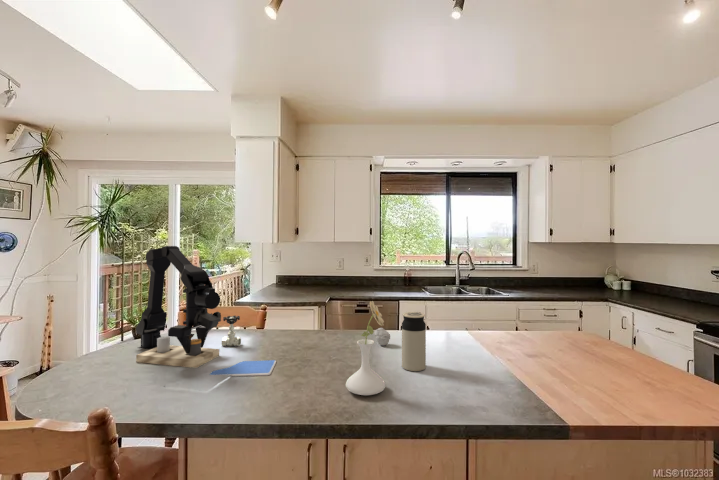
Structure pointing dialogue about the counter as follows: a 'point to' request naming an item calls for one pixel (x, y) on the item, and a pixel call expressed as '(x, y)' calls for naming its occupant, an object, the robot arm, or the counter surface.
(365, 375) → the flower in vase
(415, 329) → the travel mug
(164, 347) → the grey plug
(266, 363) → the tablet computer
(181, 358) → the wooden socket board
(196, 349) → the capped plug
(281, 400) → the counter surface
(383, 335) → the crumpled paper ball
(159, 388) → the counter surface
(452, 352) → the counter surface
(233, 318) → the valve
